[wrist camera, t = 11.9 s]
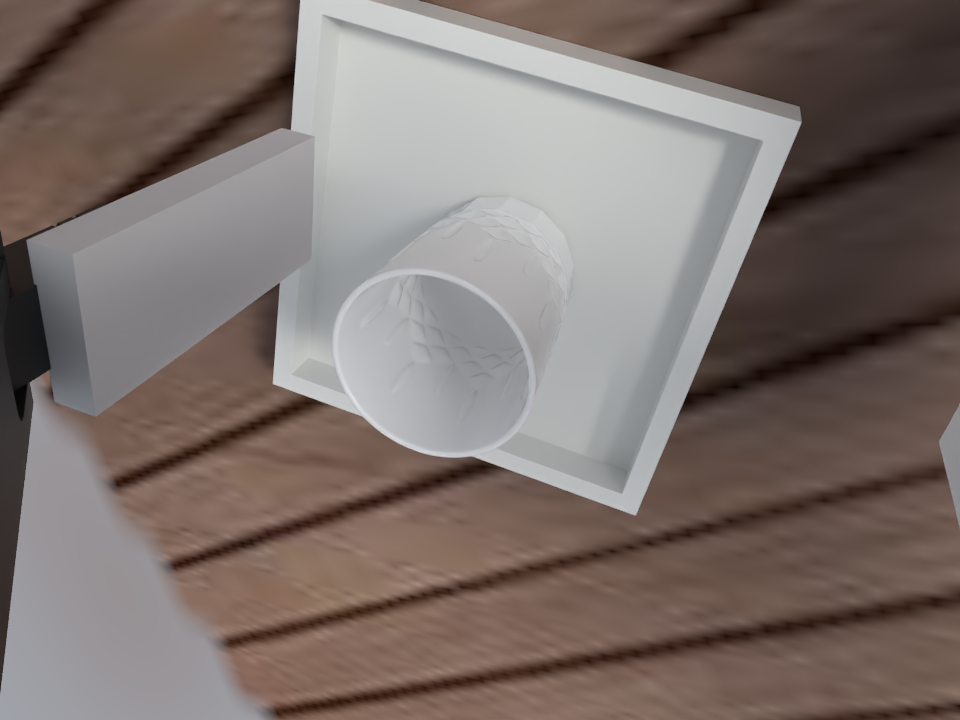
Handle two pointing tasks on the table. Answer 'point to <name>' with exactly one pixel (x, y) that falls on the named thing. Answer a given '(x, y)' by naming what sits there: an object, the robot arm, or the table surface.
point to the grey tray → (544, 184)
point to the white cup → (457, 329)
